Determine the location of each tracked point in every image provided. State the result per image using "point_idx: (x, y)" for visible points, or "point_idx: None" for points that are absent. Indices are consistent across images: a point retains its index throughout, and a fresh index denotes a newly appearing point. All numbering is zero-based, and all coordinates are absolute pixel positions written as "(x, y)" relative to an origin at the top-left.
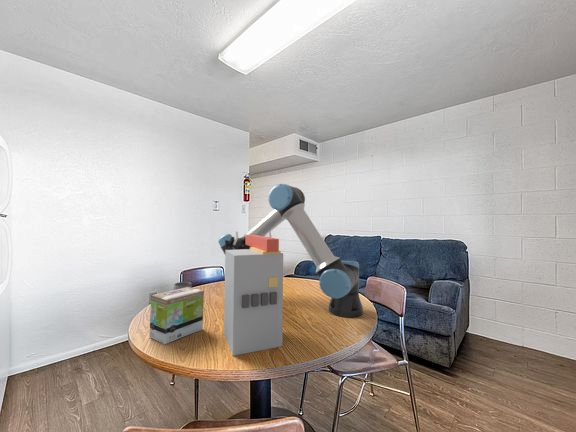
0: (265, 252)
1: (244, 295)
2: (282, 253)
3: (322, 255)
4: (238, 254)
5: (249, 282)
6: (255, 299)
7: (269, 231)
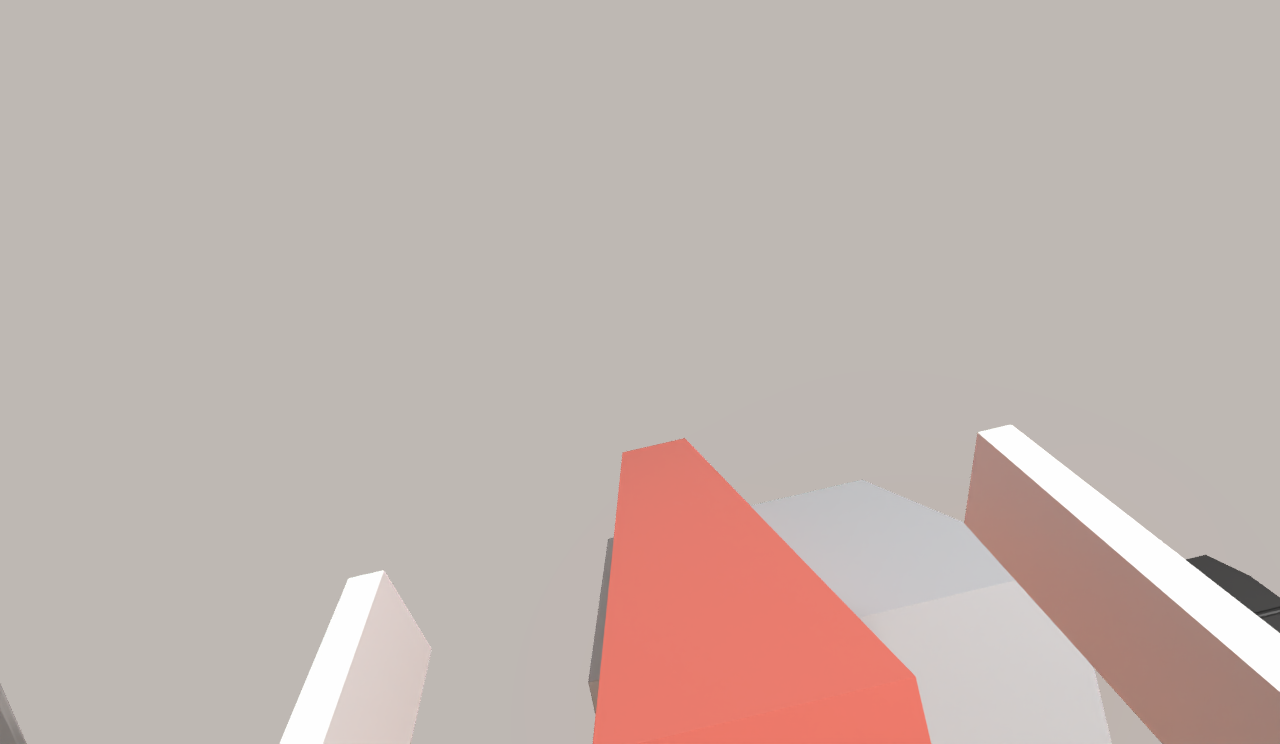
0: None
1: None
2: (611, 538)
3: None
4: (849, 493)
5: None
6: None
7: (370, 573)
